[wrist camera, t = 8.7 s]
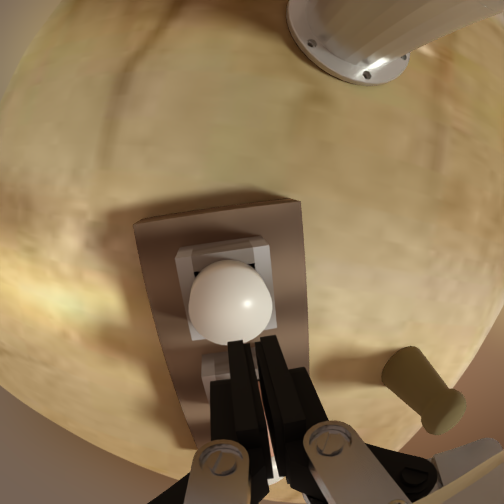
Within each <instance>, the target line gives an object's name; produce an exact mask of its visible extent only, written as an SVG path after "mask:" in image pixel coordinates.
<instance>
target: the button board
mask: <svg viewBox="0 0 504 504" xmlns="http://www.w3.org/2000/svg"><path fill="white" fill-rule="evenodd" d="M133 227H134V233H135V238H136V244H137V249H138V254H139V259H140V263H141V268H142V273H143V277H144V282H145V286H146V290H147V294H148V298H149V302H150V306H151V310H152V314H153V318H154V322H155V325H156V329H157V333H158V336H159V340H160V343H161V346H162V350H163V353H164V356H165V360H166V363H167V366H168V369H169V372H170V375H171V378H172V381H173V384H174V387H175V390H176V393H177V396H178V399H179V402H180V404H181V407H182V410H183V413H184V415H185V418H186V421H187V423H188V426H189V428H190V431H191V433H192V436H193V438H194V441H195V443H196V446H197V448H198V449H199V448H200V447H201V446H203V445H204V444H206V443H208V442H211V430H210V381H216V380H224V379H230V370H229V358H228V346H227V345H220V344H216V343H214V342H211V341H209V340H207V339H206V338H204V337H203V336H202V335H200V334H199V333H198V332H197V330H196V329H195V328H194V326H193V324H192V322H191V320H190V316H189V300H190V293H191V287H192V284H193V282H194V280H195V278H196V276H197V275H198V274H199V273H200V271H202V270H203V269H204V268H205V267H207V266H208V265H210V264H212V263H214V262H217V261H221V260H237V261H241V262H244V263H246V264H248V265H250V266H251V267H253V268H254V269H255V270H256V271H257V272H258V273H259V274H260V276H261V277H262V279H263V281H264V283H265V285H266V287H267V289H268V291H269V293H270V296H271V299H272V314H271V318H270V320H269V323H268V324H267V326H266V327H265V329H264V330H263V331H262V332H261V333H260V334H259V335H258V336H257V337H255V338H254V339H252V340H250V341H248V342H246V343H250V347H251V352H252V357H253V362H254V367H255V372H256V376H257V381H259V374H258V366H257V358H256V351H255V342H259V341H260V337H264V336H270V335H276V336H277V339H278V342H279V345H280V348H281V350H282V353H283V356H284V359H285V362H286V364H287V367H288V369H293V368H299V367H303V366H304V367H305V368H306V370H307V372H308V374H309V334H308V306H307V285H306V267H305V251H304V237H303V224H302V211H301V201H297V200H294V199H290V198H289V199H280V200H271V201H263V202H255V203H247V204H239V205H231V206H224V207H216V208H209V209H202V210H195V211H189V212H182V213H176V214H169V215H163V216H157V217H151V218H145V219H141V220H140V221H138V222H137V223H135V224H134V225H133ZM246 343H243V344H246Z"/></svg>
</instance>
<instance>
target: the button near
mask: <svg viewBox="0 0 504 504" xmlns="http://www.w3.org/2000/svg"><path fill="white" fill-rule="evenodd" d="M271 314H272V299H271V296H270V293H269V291H268V289H267V287H266V285H265V283H264V281H263V279H262V277H261V276H260V274H259V273H258V272H257V271H256V270H255V269H254V268H253V267H251V266H250V265H248V264H246V263H244V262H241V261H237V260H221V261H217V262H214V263H212V264H210V265H208V266H207V267H205V268H204V269H203V270H202V271H200V273H199V274H198V275H197V276H196V278H195V280H194V282H193V284H192V287H191V293H190V300H189V316H190V320H191V322H192V324H193V326H194V328H195V329H196V330H197V332H198V333H199V334H200V335H202V336H203V337H204V338H206V339H207V340H209V341H211V342H214V343H216V344H220V345H227V342H230V341H237V340H243V343H246V342H248V341H250V340H252V339H254V338H255V337H257V336H258V335H259V334H260V333H261V332H262V331H263V330H264V329H265V327H266V326H267V324H268V323H269V320H270V318H271Z"/></svg>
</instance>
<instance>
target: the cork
mask: <svg viewBox="0 0 504 504" xmlns="http://www.w3.org/2000/svg"><path fill="white" fill-rule="evenodd" d="M382 382H383V383H384V385H385V386H387V387H388V388H389V389H390V390H391V391H392V392H393V393H395V394H396V395H397V396H398V397H399V398H400V399H402V400H403V401H404V402H405V403H406V404H407V405H409V406H410V407H411V408H412V409H413V410H414V411H416V412H417V413H418V414H419V415H420V416H421V422H422V425H423V427H424V428H425V430H426V431H427V432H428V433H430V434H433V435H441V434H443V433H445V432H447V431H449V430H450V429H451V428H453V427H454V426H455V425H456V424H457V423H458V422H459V420H460V419H461V418H462V416H463V414H464V412H465V410H466V400H465V398H464V396H463V394H461V393H460V392H459V391H457V390H455V389H449V388H448V387H447V385H446V384H445V383H444V381H443V380H442V378H441V377H440V376H439V374H438V373H437V372H436V370H435V369H434V368H433V366H432V365H431V364H430V362H429V361H428V360H427V359H426V357H425V356H424V355H423V353H422V352H421V351H420V350H419V349H418V348H417V347H412V346H410V347H406V348H403V349H402V350H400V351H398V352H397V353H396V354H395V355H393V356H392V357H391V358H390V360H389V361H388V362H387V363H386V365H385V367H384V369H383V372H382Z"/></svg>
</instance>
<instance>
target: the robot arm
mask: <svg viewBox="0 0 504 504" xmlns="http://www.w3.org/2000/svg"><path fill="white" fill-rule="evenodd" d="M502 12H504V0H289V2H288V5H287V10H286V18H287V24H288V28H289V30H290V32H291V35H292V37H293V39H294V40H295V42H296V43H297V45H298V46H299V48H300V49H301V50H302V51H303V52H304V54H305V55H306V56H307V57H308V58H309V59H310V60H311V61H313V62H314V63H315V64H316V65H317V66H318V67H320V68H321V69H323V70H324V71H326V72H327V73H329V74H330V75H332V76H334V77H337V78H339V79H341V80H343V81H346V82H349V83H352V84H356V85H363V86H376V85H381V84H384V83H387V82H389V81H391V80H394V79H396V78H397V77H398V76H399V75H401V74H402V73H403V71H404V70H405V68H406V67H407V64H408V62H409V58H410V52H411V51H413V50H415V49H417V48H419V47H421V46H423V45H426V44H428V43H430V42H432V41H434V40H436V39H438V38H441V37H443V36H445V35H447V34H449V33H452V32H454V31H456V30H459V29H461V28H463V27H466V26H468V25H471V24H473V23H476V22H478V21H481V20H483V19H486V18H489V17H491V16H494V15H497V14H500V13H502ZM308 45H309V46H311V47H309V46H308ZM227 346H228V358H229V370H230V379H224V380H216V381H210V430H211V442H208V443H206V444H204V445H203V446H201V447H200V448H199V449H198V450H197V451H196V453H195V455H194V458H193V462H192V466H191V471H190V472H189V473H188V474H187V475H186V476H184V477H183V478H182V479H180V480H179V481H178V482H177V483H175V484H174V485H173V486H171V487H170V488H169V489H167V490H166V491H164V492H163V493H162V494H160V495H159V496H158V497H156V498H155V499H153V500H152V501H150V502H149V503H148V504H260V501H261V500H262V499H263V498H264V497H265V496H266V495H267V494H268V493H269V492H270V491H269V485H268V480H267V479H273V478H274V475H273V467H272V460H271V452H270V445H269V437H268V430H269V435H270V439H271V444H272V448H273V453H274V457H275V461H276V466H277V470H278V474H279V477H284V476H286V480H287V484H290V487H291V488H293V489H295V490H297V491H299V492H301V493H302V495H303V498H304V500H305V501H306V503H307V504H504V450H503V449H502V446H501V445H500V444H499V442H498V441H496V440H494V439H491V438H484V439H480V440H477V441H475V442H472V443H469V444H466V445H464V446H461V447H458V448H455V449H452V450H449V451H445V452H442V453H439V454H435V455H434V456H433V457H432V458H430V459H424V458H421V457H417V456H412V455H408V454H404V453H400V452H396V451H392V450H388V449H384V448H380V447H377V446H373V445H370V444H366V443H364V441H363V440H362V439H361V438H360V436H359V435H358V434H357V432H356V431H355V430H354V429H353V428H352V427H351V426H350V425H348V424H346V423H344V422H340V421H329V420H328V418H327V415H326V413H325V411H324V409H323V406H322V404H321V402H320V400H319V397H318V395H317V393H316V390H315V388H314V386H313V384H312V381H311V379H310V377H309V374H308V372H307V370H306V368H305V367H304V366H303V367H299V368H293V369H288V367H287V364H286V362H285V359H284V356H283V353H282V350H281V348H280V345H279V342H278V339H277V336H276V335H270V336H264V337H260V341H259V342H255V351H256V358H257V366H258V374H259V381H260V389H261V395H260V391H259V386H258V381H257V376H256V372H255V367H254V362H253V357H252V352H251V347H250V343H246V344H243V340H237V341H230V342H227ZM261 396H262V400H261ZM262 402H263V405H262ZM263 407H264V409H263ZM264 412H265V414H264ZM265 416H266V419H265ZM266 421H267V424H266ZM267 426H268V430H267Z"/></svg>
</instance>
